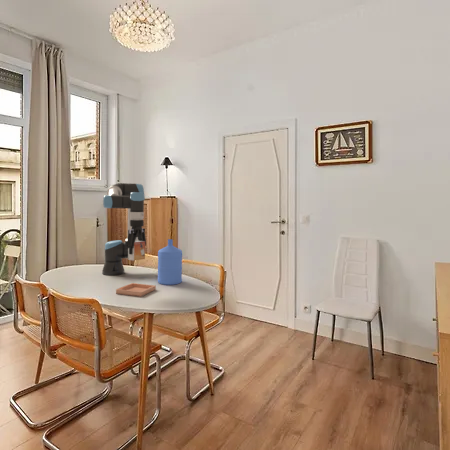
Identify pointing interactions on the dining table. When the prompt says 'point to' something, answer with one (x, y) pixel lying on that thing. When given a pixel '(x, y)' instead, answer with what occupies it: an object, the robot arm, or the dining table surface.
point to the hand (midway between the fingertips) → (136, 258)
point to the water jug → (169, 265)
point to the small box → (138, 250)
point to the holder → (136, 289)
